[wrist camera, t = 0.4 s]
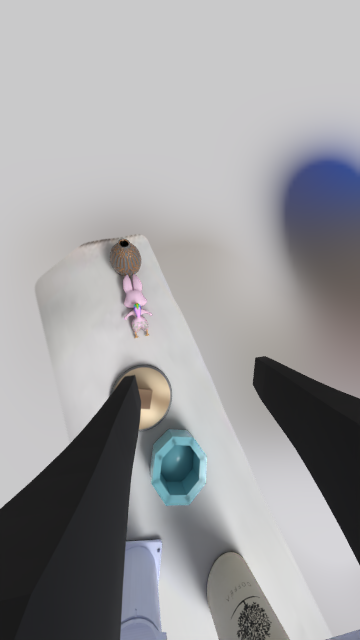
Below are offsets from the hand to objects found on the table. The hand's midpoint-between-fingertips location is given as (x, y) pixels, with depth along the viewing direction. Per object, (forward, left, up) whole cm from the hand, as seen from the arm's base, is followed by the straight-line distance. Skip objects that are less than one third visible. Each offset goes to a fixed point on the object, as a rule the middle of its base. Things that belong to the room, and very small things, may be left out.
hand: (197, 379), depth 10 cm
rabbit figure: (+15, +7, -28) cm, 33 cm away
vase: (+25, +11, -28) cm, 39 cm away
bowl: (-14, -6, -28) cm, 31 cm away
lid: (-4, +2, -27) cm, 27 cm away
